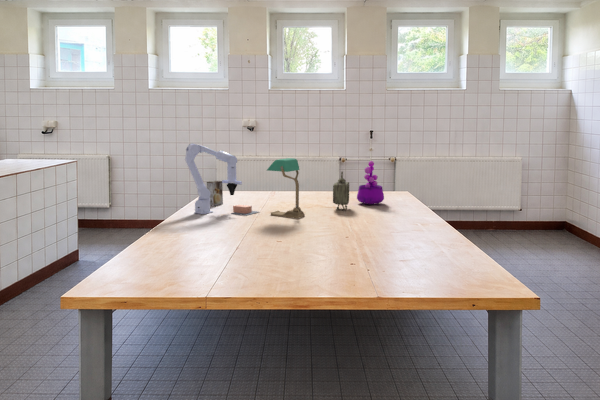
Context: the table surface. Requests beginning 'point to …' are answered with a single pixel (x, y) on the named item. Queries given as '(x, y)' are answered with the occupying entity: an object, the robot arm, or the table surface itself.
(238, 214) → the mat
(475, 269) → the table surface
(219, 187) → the coffee box
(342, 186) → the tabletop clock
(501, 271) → the table surface
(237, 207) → the block
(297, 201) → the banker's lamp
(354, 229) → the table surface
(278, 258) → the table surface
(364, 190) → the decorative plant
